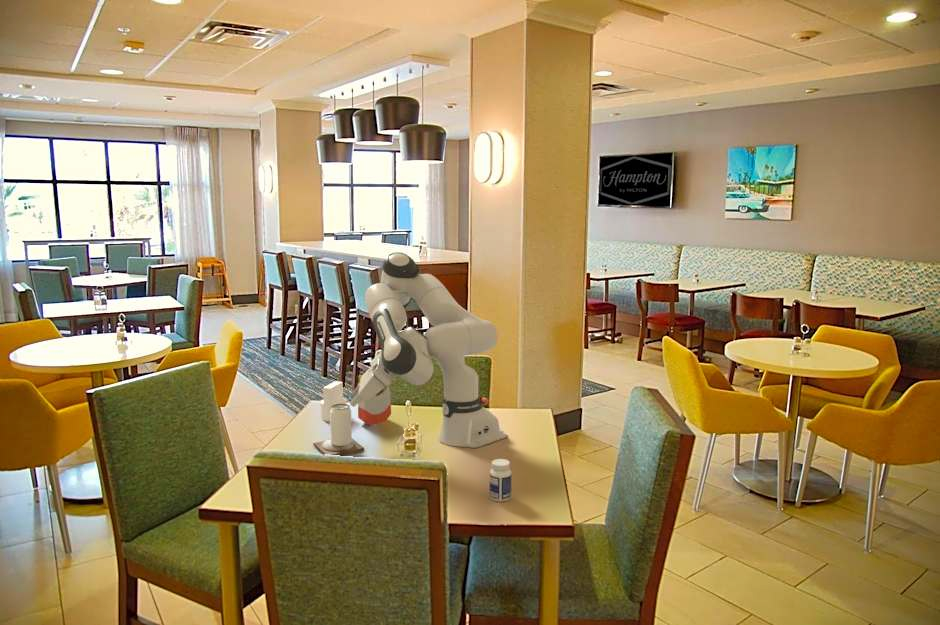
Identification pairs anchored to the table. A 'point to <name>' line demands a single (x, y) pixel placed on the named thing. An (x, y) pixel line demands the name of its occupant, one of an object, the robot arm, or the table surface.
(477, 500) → the table surface
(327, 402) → the base with upright slab
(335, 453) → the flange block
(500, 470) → the pill bottle
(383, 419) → the french fries container
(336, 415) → the can
